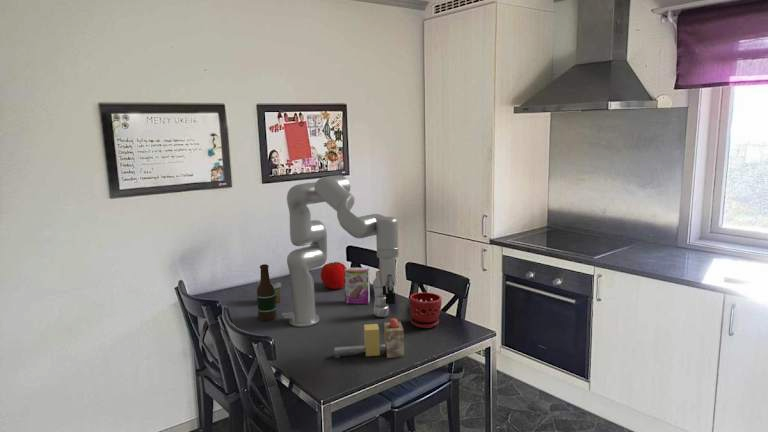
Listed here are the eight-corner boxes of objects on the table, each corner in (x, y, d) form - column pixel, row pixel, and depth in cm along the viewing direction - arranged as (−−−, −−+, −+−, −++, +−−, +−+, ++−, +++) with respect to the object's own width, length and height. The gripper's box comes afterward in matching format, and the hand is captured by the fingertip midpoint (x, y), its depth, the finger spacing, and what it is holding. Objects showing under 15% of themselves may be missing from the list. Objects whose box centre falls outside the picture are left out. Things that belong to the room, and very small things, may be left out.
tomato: (347, 292, 252) (346, 265, 249) (319, 292, 252) (318, 266, 250) (349, 282, 267) (348, 257, 265) (323, 282, 267) (322, 257, 265)
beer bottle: (259, 315, 222) (256, 263, 218) (277, 314, 223) (274, 262, 219) (257, 322, 215) (253, 267, 211) (275, 321, 215) (272, 267, 211)
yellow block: (365, 356, 180) (365, 330, 178) (364, 350, 185) (363, 324, 183) (379, 355, 180) (379, 329, 178) (378, 349, 185) (377, 323, 184)
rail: (334, 358, 180) (334, 350, 179) (334, 355, 182) (334, 347, 182) (387, 354, 182) (387, 346, 181) (386, 351, 184) (386, 343, 184)
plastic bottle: (387, 319, 215) (386, 274, 211) (372, 318, 216) (370, 273, 213) (390, 313, 221) (389, 269, 218) (375, 313, 222) (374, 269, 219)
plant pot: (432, 332, 200) (432, 303, 198) (404, 326, 207) (403, 298, 205) (446, 321, 211) (446, 294, 209) (419, 316, 218) (418, 289, 216)
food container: (253, 304, 238) (251, 283, 236) (260, 299, 243) (259, 279, 242) (275, 306, 233) (273, 286, 231) (282, 302, 239) (281, 282, 237)
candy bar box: (345, 304, 234) (343, 270, 231) (346, 300, 239) (345, 267, 236) (368, 304, 233) (367, 270, 230) (370, 300, 238) (369, 267, 235)
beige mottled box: (387, 358, 179) (386, 331, 177) (384, 348, 187) (384, 322, 185) (404, 357, 179) (403, 330, 178) (400, 347, 188) (400, 321, 186)
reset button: (390, 332, 180) (390, 321, 180) (389, 329, 183) (389, 318, 182) (398, 332, 181) (397, 320, 180) (397, 328, 184) (396, 317, 183)
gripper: (374, 247, 185) (376, 292, 188) (379, 259, 168) (380, 308, 171) (395, 246, 185) (396, 290, 188) (401, 258, 169) (402, 306, 172)
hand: (388, 299), depth 180 cm, fingers open, 9 cm apart
